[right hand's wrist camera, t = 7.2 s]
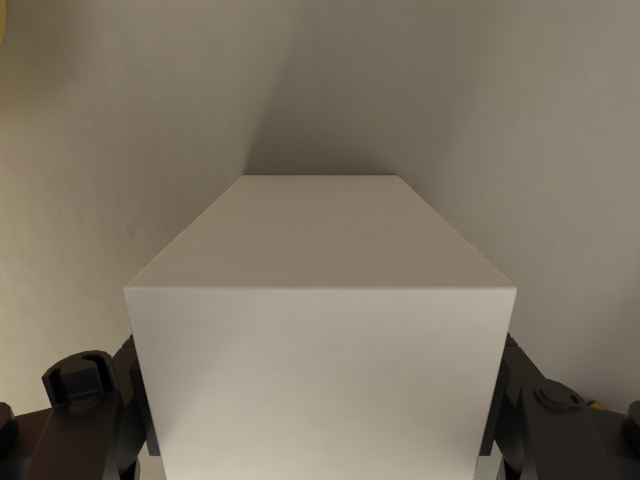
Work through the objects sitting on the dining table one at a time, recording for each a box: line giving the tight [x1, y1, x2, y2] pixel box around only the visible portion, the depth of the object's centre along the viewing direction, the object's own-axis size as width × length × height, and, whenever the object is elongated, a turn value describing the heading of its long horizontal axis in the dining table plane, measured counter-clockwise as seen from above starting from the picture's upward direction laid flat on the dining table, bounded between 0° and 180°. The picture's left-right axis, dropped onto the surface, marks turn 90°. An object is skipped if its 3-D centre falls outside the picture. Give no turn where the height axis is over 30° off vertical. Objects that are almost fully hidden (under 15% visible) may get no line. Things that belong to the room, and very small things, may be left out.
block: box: [122, 175, 517, 480], centre depth 12 cm, size 7×8×10 cm
